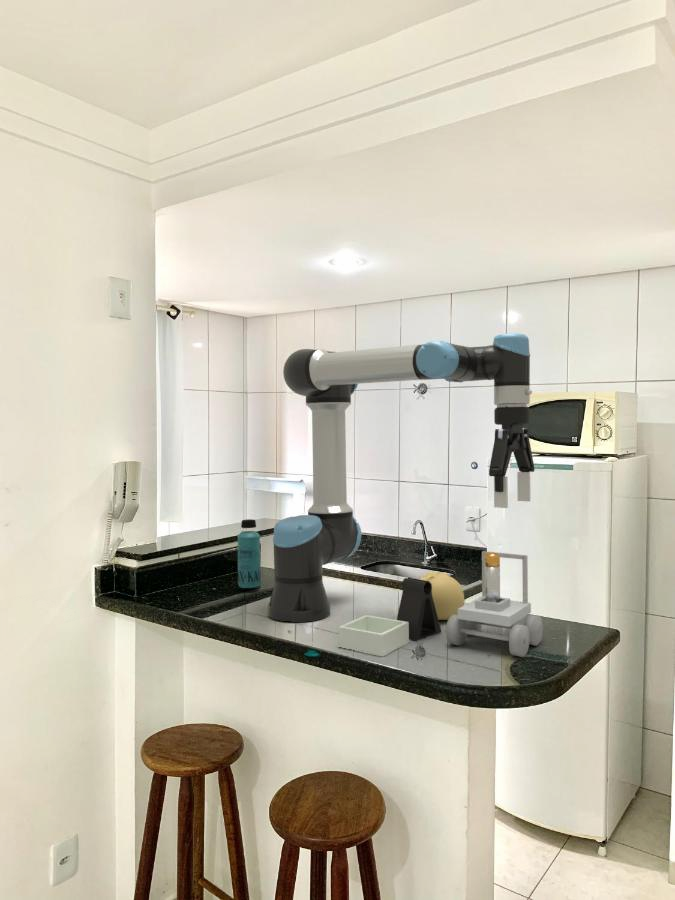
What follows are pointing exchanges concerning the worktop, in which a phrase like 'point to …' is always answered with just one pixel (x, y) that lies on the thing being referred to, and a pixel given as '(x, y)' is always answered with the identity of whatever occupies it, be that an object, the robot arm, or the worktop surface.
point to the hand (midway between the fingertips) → (512, 504)
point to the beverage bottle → (248, 556)
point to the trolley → (498, 617)
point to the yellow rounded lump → (445, 594)
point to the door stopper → (418, 609)
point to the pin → (492, 577)
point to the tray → (374, 635)
